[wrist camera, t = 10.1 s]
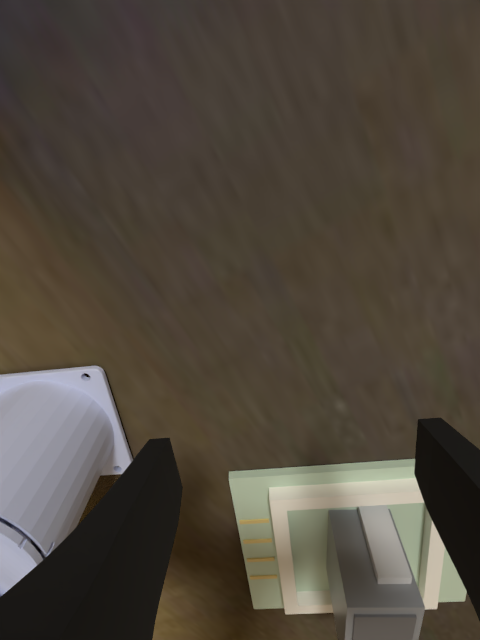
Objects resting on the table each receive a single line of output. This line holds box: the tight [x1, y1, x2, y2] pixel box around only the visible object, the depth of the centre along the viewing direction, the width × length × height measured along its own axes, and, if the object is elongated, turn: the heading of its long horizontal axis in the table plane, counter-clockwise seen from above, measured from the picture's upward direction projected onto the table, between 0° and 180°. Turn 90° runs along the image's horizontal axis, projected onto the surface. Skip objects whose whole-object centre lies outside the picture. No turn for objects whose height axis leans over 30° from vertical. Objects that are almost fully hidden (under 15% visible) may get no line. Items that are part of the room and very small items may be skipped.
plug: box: [326, 505, 425, 640], centre depth 25 cm, size 4×6×6 cm, turn 4°
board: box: [229, 459, 467, 614], centre depth 27 cm, size 16×14×2 cm
